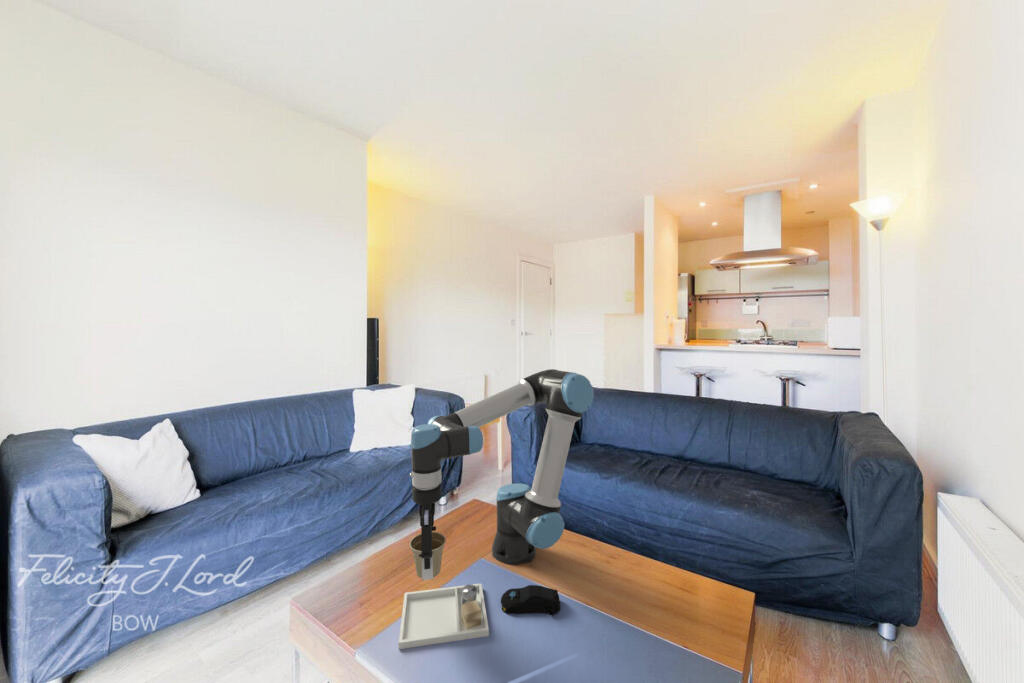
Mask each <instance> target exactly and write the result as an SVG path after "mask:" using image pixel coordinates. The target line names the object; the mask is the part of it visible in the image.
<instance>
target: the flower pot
mask: <svg viewBox="0 0 1024 683" xmlns="http://www.w3.org/2000/svg"><path fill="white" fill-rule="evenodd" d="M446 541H447V538H446V536H445V535H444V534H442V533H441V532H436V531H432V552H433V579H434V578H436V577H437V576H439V574H440V573H441V570H442V569H441V567H442V558H443V550H444V547H445V544H446V543H447V542H446ZM409 548H410V550H411V553H413V559H414V566H415V573H416V575H417V577H418V578H419V579H421V580H422V558H421V557H419V554H421V553H422V545H421V533H419V534H417V535H414V536H413V537H412V538H411V540H410V541H409Z"/></svg>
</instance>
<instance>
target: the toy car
mask: <svg viewBox="0 0 1024 683" xmlns="http://www.w3.org/2000/svg"><path fill="white" fill-rule="evenodd" d="M558 592H559V591H558V590H557V589H554V588H551V587H547V586H541V585H537V584H528V585H526V586H523V587H518V588H509V589H507V590H506V591H505V592H504V593H503V594H502V596H501V598H500V604H501V611H502V612H503V613H505V614H508V615H510V614H511V615H512V614H513V615H514V614H515V615H522V614H523V615H524V614H527V615H528V614H549V616H551V615H552V616H554V613H555V614H557V613H558V612H560V610H561V601H560V594H559V593H558Z"/></svg>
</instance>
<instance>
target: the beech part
mask: <svg viewBox="0 0 1024 683" xmlns="http://www.w3.org/2000/svg"><path fill="white" fill-rule="evenodd" d="M461 609H462V621H463V623H464V625H465V627H466V630H467V629H470V628H473V627H476V626H478V625H481V609H480V607H479V605H478V604H477V602H476V600H475V601H471V602H468V603H465V604H462V605H461Z"/></svg>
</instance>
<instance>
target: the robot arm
mask: <svg viewBox="0 0 1024 683" xmlns="http://www.w3.org/2000/svg"><path fill="white" fill-rule="evenodd" d="M594 395H595V393H594V388H593V385H592V384H591V381H590V380H589V379H588V378H587V377H586V376H585V375H583V374H580V373H577V372H573V371H572V372H571V371H564V370H559V369H553V368H552V369H546V370H545V369H544V370H541V371H538V372H536V373H534V374H531V375H528V376H526V377H524V378H521V379H519V380H518V381H517V384H515V385H513V386H511V387H509V388H506V389H504V390H502V391H499V392H497V393H495V394H493V395H490V396H487V397H486V398H484V399H482V400H480V401H477V402H475V403H472V404H470V405H468V406H466V407H464V408H462V409H459V410H457V411H454V412H452V413H449V414H448V415H435V416H432V417H431V418H430V419H429V420H428V422H427V423H424V424H419V425H416V426H415V427H413V428H412V430H411V436H410V448H411V449H410V451H411V452H410V453H411V454H410V455H411V472H410V473H409V477H410V478H412V480H411V484H412V487H411V491H412V492H411V494H412V495H411V496H412V501H413V502H414V504H417V505H419V512H418V513H419V514H418V515H419V525H420V527H421V528H420V530H421V533H420V534H421V545H422V553H421V554H419V557H421V558H422V579H421V581H429V580H430V581H431V580H434V578H433V552H432V532H436V531H437V526H434V525H435V513H436V503H437V502H439V501H440V500H441V499H442V461H443V460H448V459H454V458H459V457H464V456H470V455H474V454H476V453H480V451H482V449H483V447H484V436H483V433H482V430H481V427H483V426H485V425H487V424H489V423H492V422H493V421H496V420H499V419H500V418H502V417H504V416H506V415H508V414H511V413H512V412H515V411H517V410H519V409H521V408H524V407H526V406H529V407H533V406H534V405H536V404H537V405H538V404H541V403H542V404H543V403H544V404H546V405H545V411H546V413H547V415H548V417H547V422H546V425H545V429H544V433H543V439H542V442H541V446H540V451H539V455H538V460H537V464H536V468H535V472H534V477H533V481H532V486H531V487H530V485H529V484H525V483H510V484H509V483H508V484H505V485H502V486H501V487H499V488H498V490H497V491H496V498H495V501H496V532H495V535H494V538H493V542H492V545H491V556H492V557H493V558H494V559H495V560H497V561H498V562H500V563H503V564H505V565H515V566H516V565H521V564H526V563H527V564H528V563H530V562H532V561H533V560H534V559H535V557H536V555H537V549H539V550H547V549H549V548H551V547H552V546H554V545H555V544H556V543H557V542H559V540H560V539H561V537H562V535H563V533H564V530H565V521H564V518H563V516H562V514H561V513H560V512H561V506H562V502H561V501H560V499H559V493H560V489H561V485H562V480H563V476H564V472H565V468H566V467H565V466H566V463H567V458H568V454H569V451H570V444H571V442H572V437H573V434H574V427H575V423H576V422H577V421H579V420H581V419H582V415H583V413H585V412H587V411H588V410H589V408H591V407H592V404H593V402H594V397H595V396H594Z"/></svg>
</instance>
